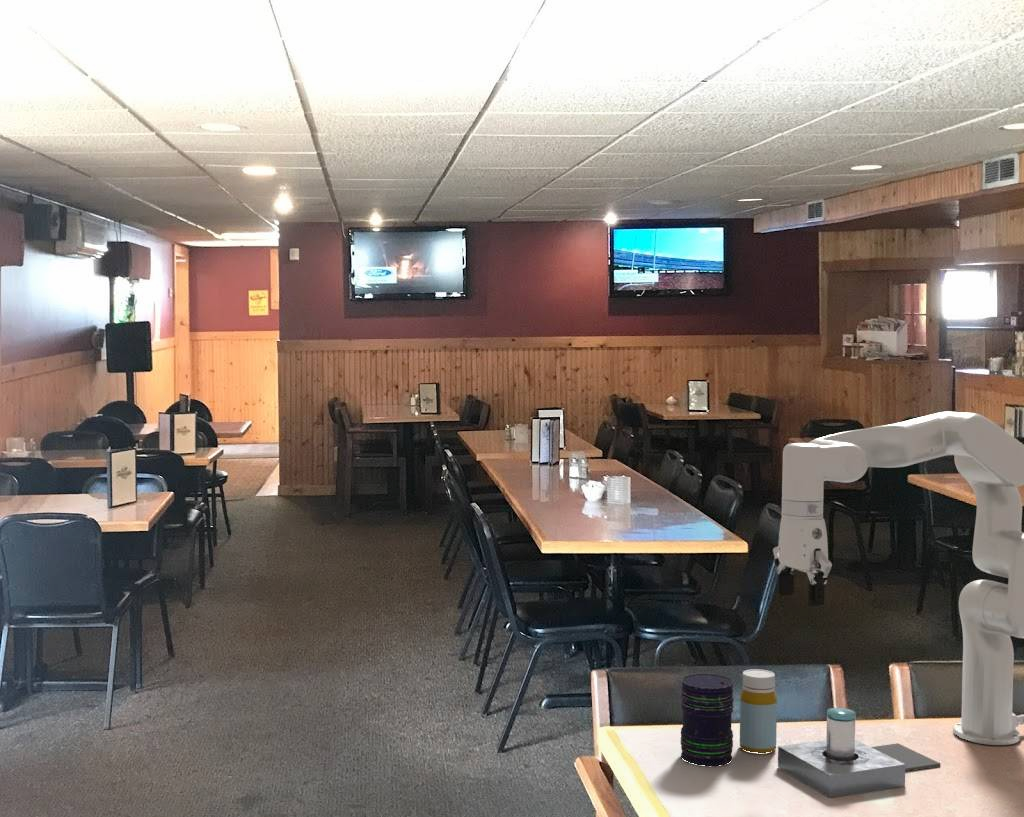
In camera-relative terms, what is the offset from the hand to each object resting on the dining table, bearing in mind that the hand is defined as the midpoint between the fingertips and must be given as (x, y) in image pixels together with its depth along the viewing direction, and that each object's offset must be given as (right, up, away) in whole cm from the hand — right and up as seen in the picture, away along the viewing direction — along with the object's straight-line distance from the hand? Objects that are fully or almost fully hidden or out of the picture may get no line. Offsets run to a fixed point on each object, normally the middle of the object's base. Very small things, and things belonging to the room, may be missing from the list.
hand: (800, 599), depth 220 cm
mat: (+18, -31, +3) cm, 36 cm away
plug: (+6, -31, -6) cm, 32 cm away
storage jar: (-17, -31, +4) cm, 36 cm away
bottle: (-6, -31, +9) cm, 33 cm away
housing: (+6, -31, -6) cm, 32 cm away
